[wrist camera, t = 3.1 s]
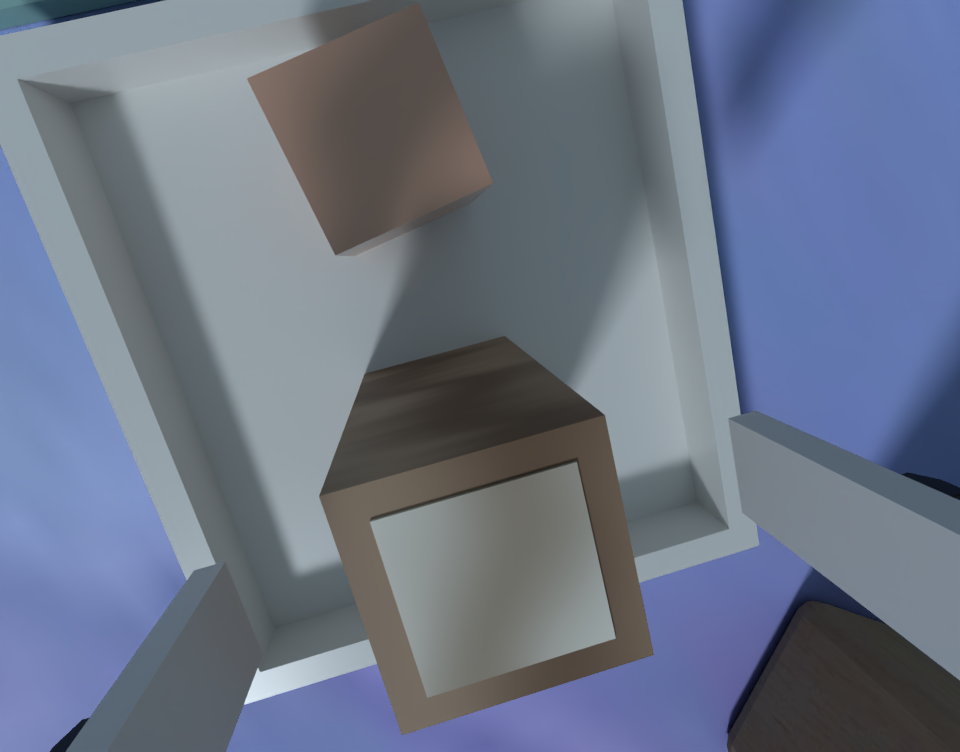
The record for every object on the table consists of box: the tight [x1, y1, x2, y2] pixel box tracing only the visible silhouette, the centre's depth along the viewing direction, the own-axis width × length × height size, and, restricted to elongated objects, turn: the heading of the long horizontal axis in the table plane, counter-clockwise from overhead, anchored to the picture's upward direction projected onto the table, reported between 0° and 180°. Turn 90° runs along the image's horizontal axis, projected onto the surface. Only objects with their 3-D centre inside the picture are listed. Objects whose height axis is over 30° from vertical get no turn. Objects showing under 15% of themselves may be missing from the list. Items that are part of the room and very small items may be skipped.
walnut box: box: [319, 336, 654, 735], centre depth 18 cm, size 6×6×12 cm
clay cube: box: [247, 2, 493, 256], centre depth 18 cm, size 5×5×6 cm
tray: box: [0, 0, 759, 705], centre depth 22 cm, size 22×24×4 cm
